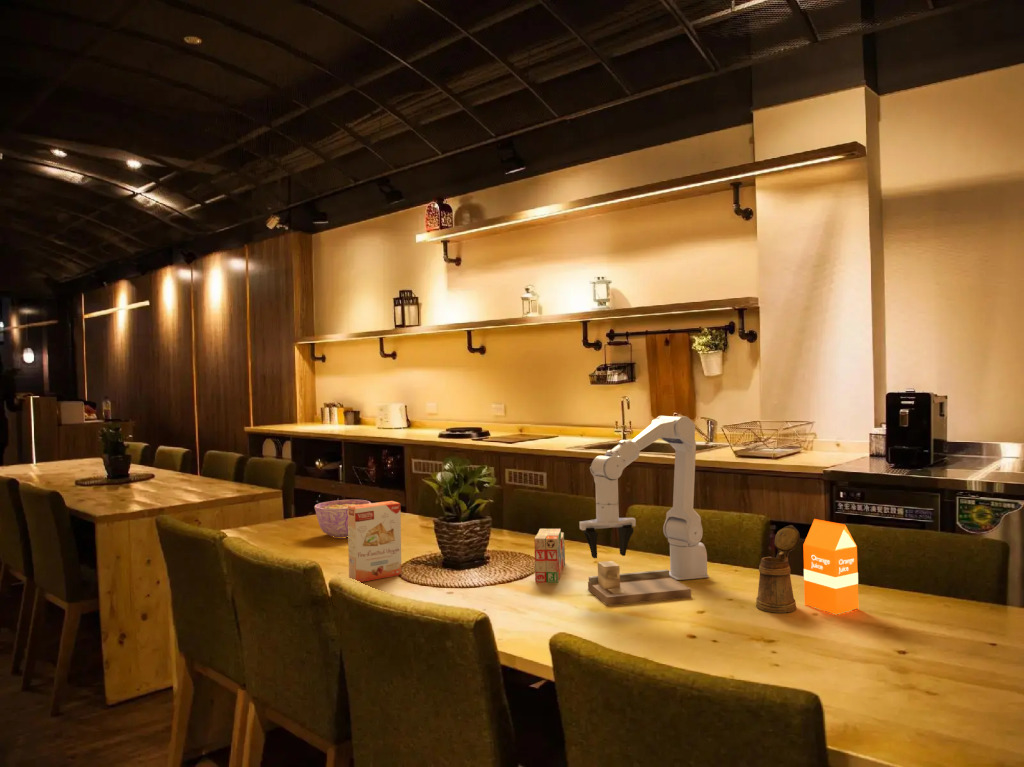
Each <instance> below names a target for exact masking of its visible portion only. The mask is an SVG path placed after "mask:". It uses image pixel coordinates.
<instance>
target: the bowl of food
mask: <svg viewBox="0 0 1024 767" xmlns="http://www.w3.org/2000/svg"><path fill="white" fill-rule="evenodd" d="M370 503H372V502H371V501H369V500H366V499H365V500H364V499H340V500H331V501H324V502H319V503H317V504H315V505H314V511H315V514H316V518H317V522H318V524H319V525H318V526H319V527H320V530H321V531H322V532H323V533H324V534H325V535H328V536H331V537H332V536H334V537H347V536H348V506H352V505H361V504H370Z"/></svg>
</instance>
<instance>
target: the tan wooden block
mask: <svg viewBox="0 0 1024 767" xmlns="http://www.w3.org/2000/svg"><path fill="white" fill-rule="evenodd" d="M620 570H621V569H620V565H619V564H618V563H616V562H615V561H614V560H608V561H607V560H605V561H598V562H597V576H598V584H599V585H601V586H602V587H603V588H605V589H608V588H619V587H620V574H621V572H620Z"/></svg>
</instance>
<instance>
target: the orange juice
mask: <svg viewBox="0 0 1024 767" xmlns="http://www.w3.org/2000/svg"><path fill="white" fill-rule="evenodd" d="M802 545H803V582H804V585H803V586H804V606H806V605H809V606H812V607H816V608H819V609H821V610H825V611H828V612H831V613H835V614H838V613H842V612H845V611H849V610H852V609H856V608H858V609H859V572H858V546H857V544H856V542H855V541H854V538H853V537H852V535H851V532H850V531H849V529H848V527H847V526H846V524H843V523H838V522H833V521H827V520H822V519H817V518H814V519H813V521H812V524H811V526H810V528H809V531H808V533H807V536H806V537H805V540H804V543H803V544H802ZM809 606H808V607H809ZM812 607H811V608H812ZM821 610H820V611H821ZM825 611H824V612H825ZM828 612H827V613H828ZM831 613H830V614H831Z"/></svg>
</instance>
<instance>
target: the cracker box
mask: <svg viewBox="0 0 1024 767" xmlns="http://www.w3.org/2000/svg"><path fill="white" fill-rule="evenodd" d="M401 506H402V505H401V503H400V502H398V501H394V500H390V501H389V500H388V501H380V502H371V503H370V504H361V505H352V506H348V538H347V541H348V542H347V543H348V549H347V550H348V579H349V578H352V579H355V580H357V581H360V582H359V583H364V582H369V581H375V580H381V579H385V578H391V577H398V576H400V575H399V574H400V573H401V574H402V519H401V517H402V516H401V514H402V513H401V512H402V510H401Z"/></svg>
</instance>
